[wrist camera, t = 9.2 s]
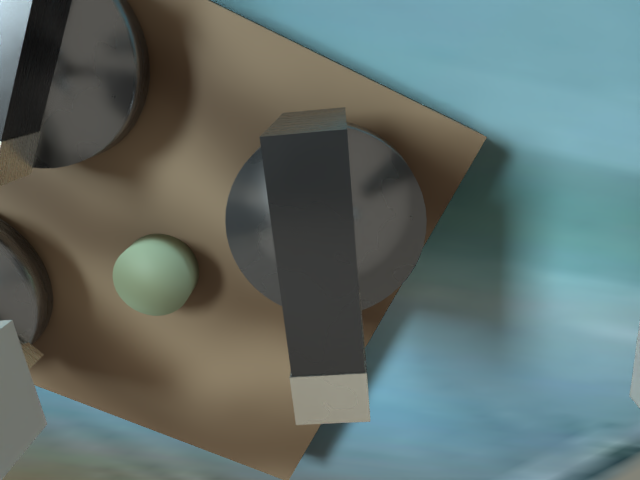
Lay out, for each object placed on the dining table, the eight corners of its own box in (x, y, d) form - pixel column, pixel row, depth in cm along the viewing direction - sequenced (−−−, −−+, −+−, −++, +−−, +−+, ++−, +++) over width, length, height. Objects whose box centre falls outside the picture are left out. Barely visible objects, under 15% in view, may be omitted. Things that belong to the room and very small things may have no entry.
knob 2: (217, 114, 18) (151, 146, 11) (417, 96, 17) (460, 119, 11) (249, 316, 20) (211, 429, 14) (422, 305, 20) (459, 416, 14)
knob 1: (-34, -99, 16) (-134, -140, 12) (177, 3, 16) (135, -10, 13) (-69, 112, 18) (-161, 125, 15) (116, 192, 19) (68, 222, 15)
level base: (-27, -116, 17) (-104, -151, 14) (473, 129, 20) (496, 142, 17) (-98, 298, 23) (-162, 335, 20) (291, 450, 26) (285, 502, 23)
